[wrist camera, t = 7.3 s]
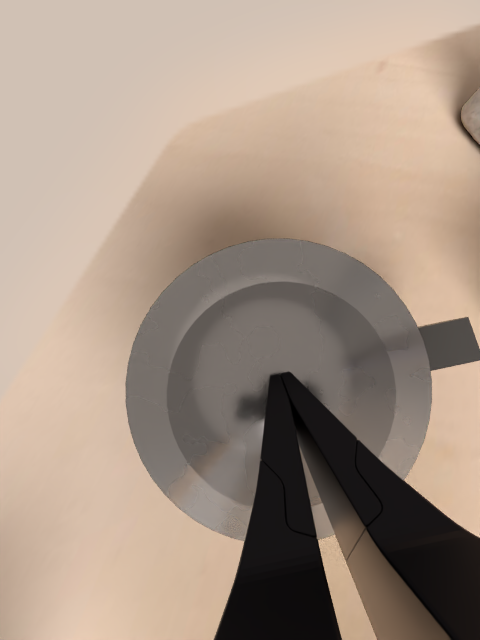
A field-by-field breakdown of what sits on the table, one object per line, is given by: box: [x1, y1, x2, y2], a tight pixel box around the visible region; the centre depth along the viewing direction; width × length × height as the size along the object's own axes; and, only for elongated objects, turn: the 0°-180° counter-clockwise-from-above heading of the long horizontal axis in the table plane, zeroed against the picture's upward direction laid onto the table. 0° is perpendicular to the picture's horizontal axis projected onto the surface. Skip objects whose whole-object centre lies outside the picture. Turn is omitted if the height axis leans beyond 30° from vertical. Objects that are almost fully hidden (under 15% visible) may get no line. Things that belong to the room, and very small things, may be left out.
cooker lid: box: [126, 239, 432, 541], centre depth 11 cm, size 14×14×2 cm
